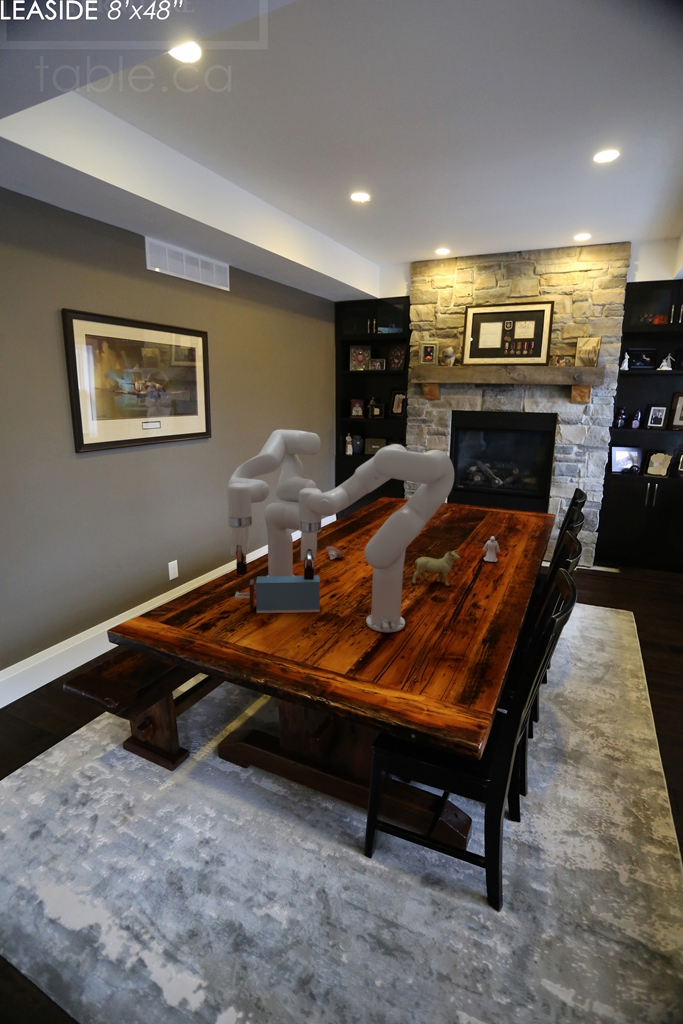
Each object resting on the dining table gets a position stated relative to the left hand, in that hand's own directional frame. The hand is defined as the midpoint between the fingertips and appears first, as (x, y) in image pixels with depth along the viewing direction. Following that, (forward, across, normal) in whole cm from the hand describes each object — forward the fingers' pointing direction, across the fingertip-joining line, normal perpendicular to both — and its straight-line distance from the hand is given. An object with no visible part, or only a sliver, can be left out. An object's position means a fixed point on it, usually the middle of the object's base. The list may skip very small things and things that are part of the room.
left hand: (241, 573), depth 168 cm
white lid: (+13, -52, +34) cm, 63 cm away
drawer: (+12, 0, +10) cm, 16 cm away
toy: (+13, -21, +72) cm, 76 cm away
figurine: (+13, -48, +105) cm, 116 cm away
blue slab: (+13, 0, +16) cm, 20 cm away
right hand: (0, 0, +22) cm, 23 cm away
